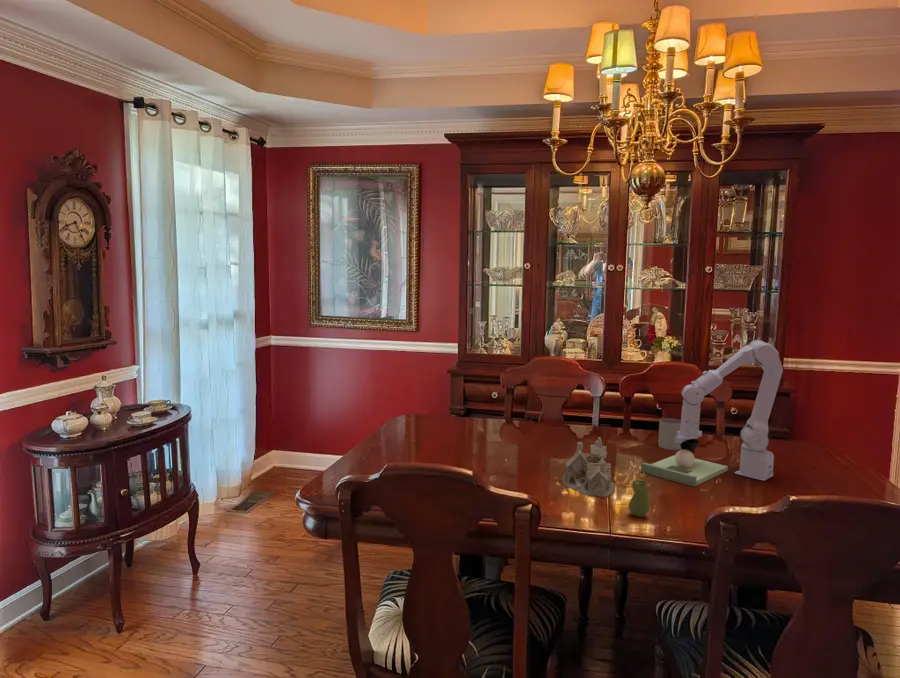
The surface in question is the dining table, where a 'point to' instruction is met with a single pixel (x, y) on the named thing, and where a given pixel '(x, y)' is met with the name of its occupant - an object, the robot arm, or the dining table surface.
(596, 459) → the ceramic cottage
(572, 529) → the dining table surface
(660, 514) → the dining table surface
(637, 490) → the pear
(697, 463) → the putting mat
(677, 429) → the cup
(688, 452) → the golf ball
